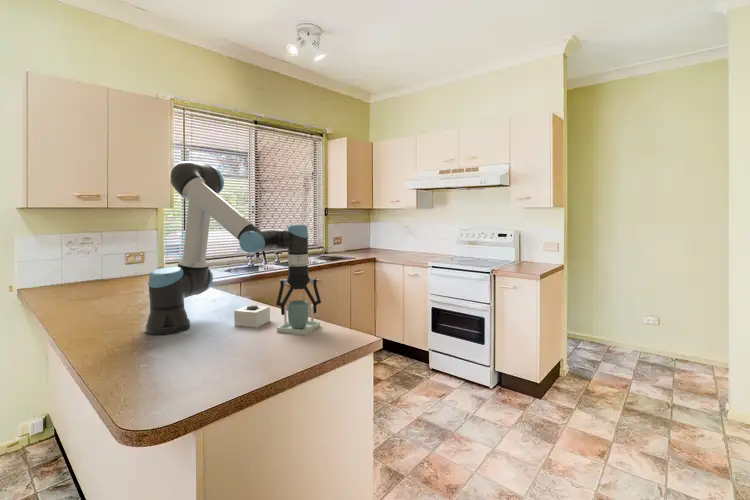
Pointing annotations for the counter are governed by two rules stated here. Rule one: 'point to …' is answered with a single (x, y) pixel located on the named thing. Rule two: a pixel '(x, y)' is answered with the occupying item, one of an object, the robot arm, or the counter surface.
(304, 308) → the cup
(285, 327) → the tray
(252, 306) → the grey oval solid
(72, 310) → the counter surface
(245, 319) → the housing
